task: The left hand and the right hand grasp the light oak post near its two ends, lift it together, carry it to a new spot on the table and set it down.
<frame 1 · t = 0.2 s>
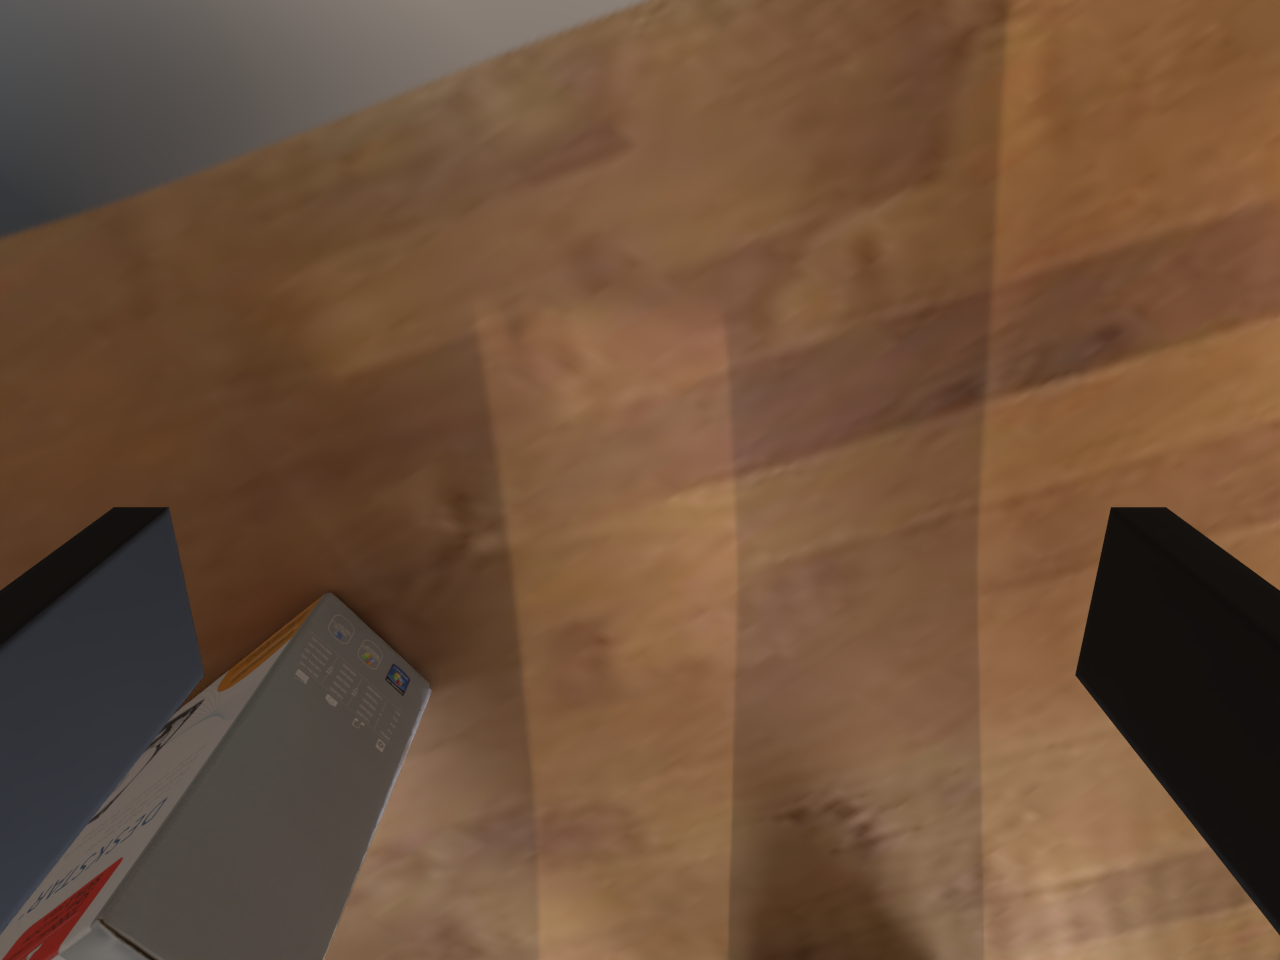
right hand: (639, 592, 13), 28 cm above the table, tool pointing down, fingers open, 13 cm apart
hard drive box: (281, 713, 47), on the table
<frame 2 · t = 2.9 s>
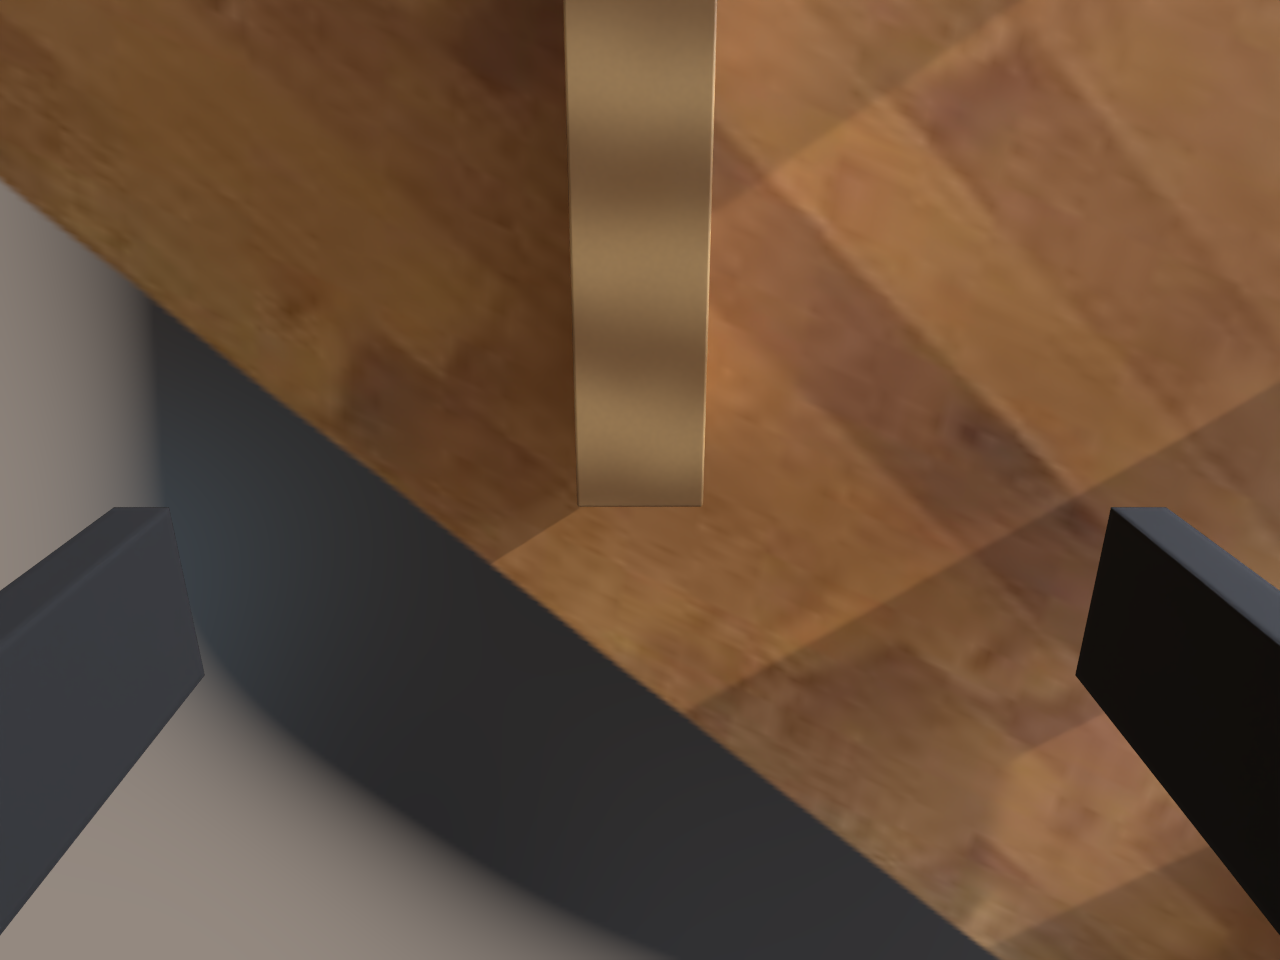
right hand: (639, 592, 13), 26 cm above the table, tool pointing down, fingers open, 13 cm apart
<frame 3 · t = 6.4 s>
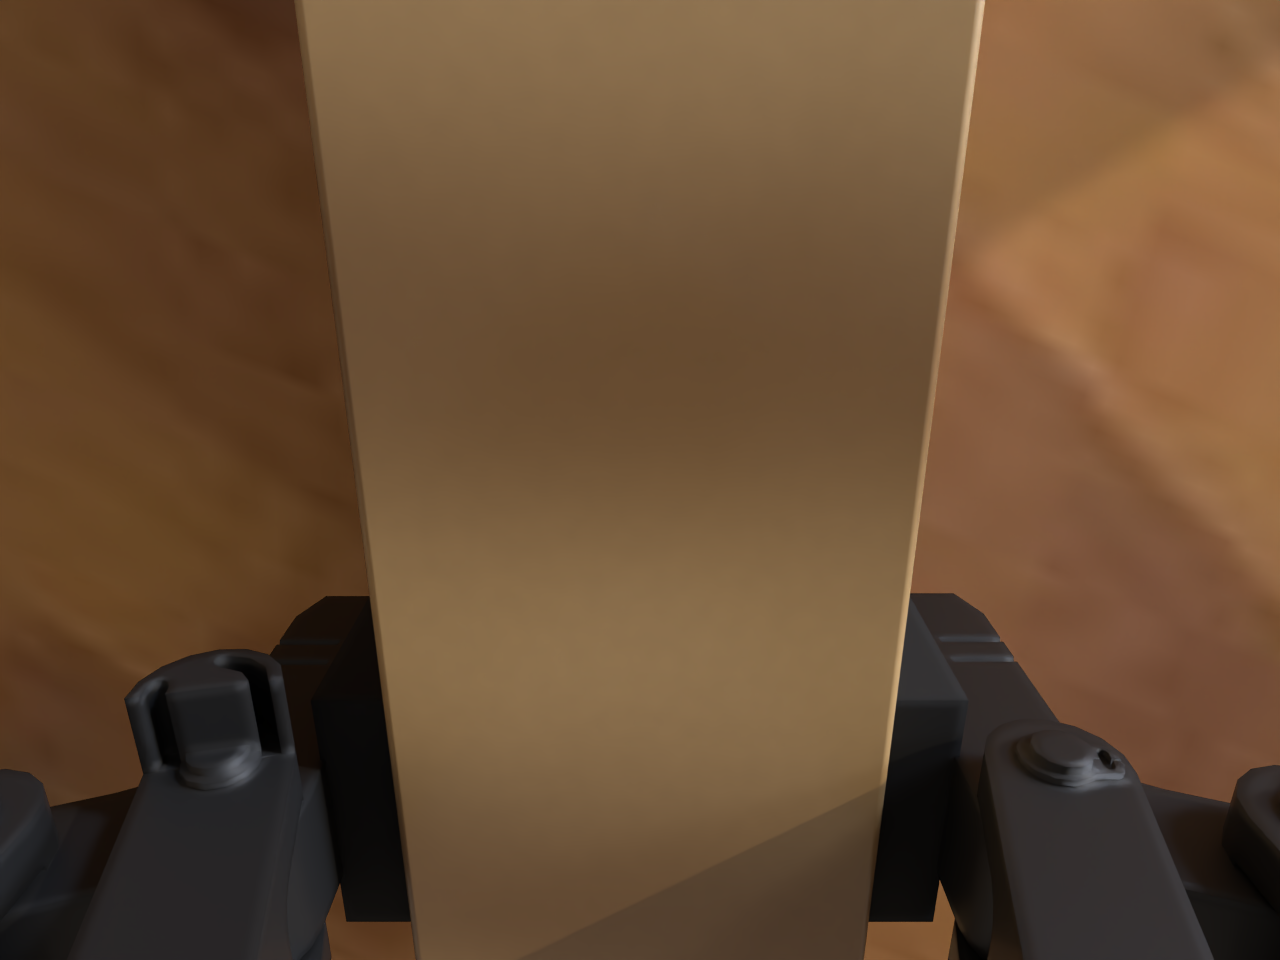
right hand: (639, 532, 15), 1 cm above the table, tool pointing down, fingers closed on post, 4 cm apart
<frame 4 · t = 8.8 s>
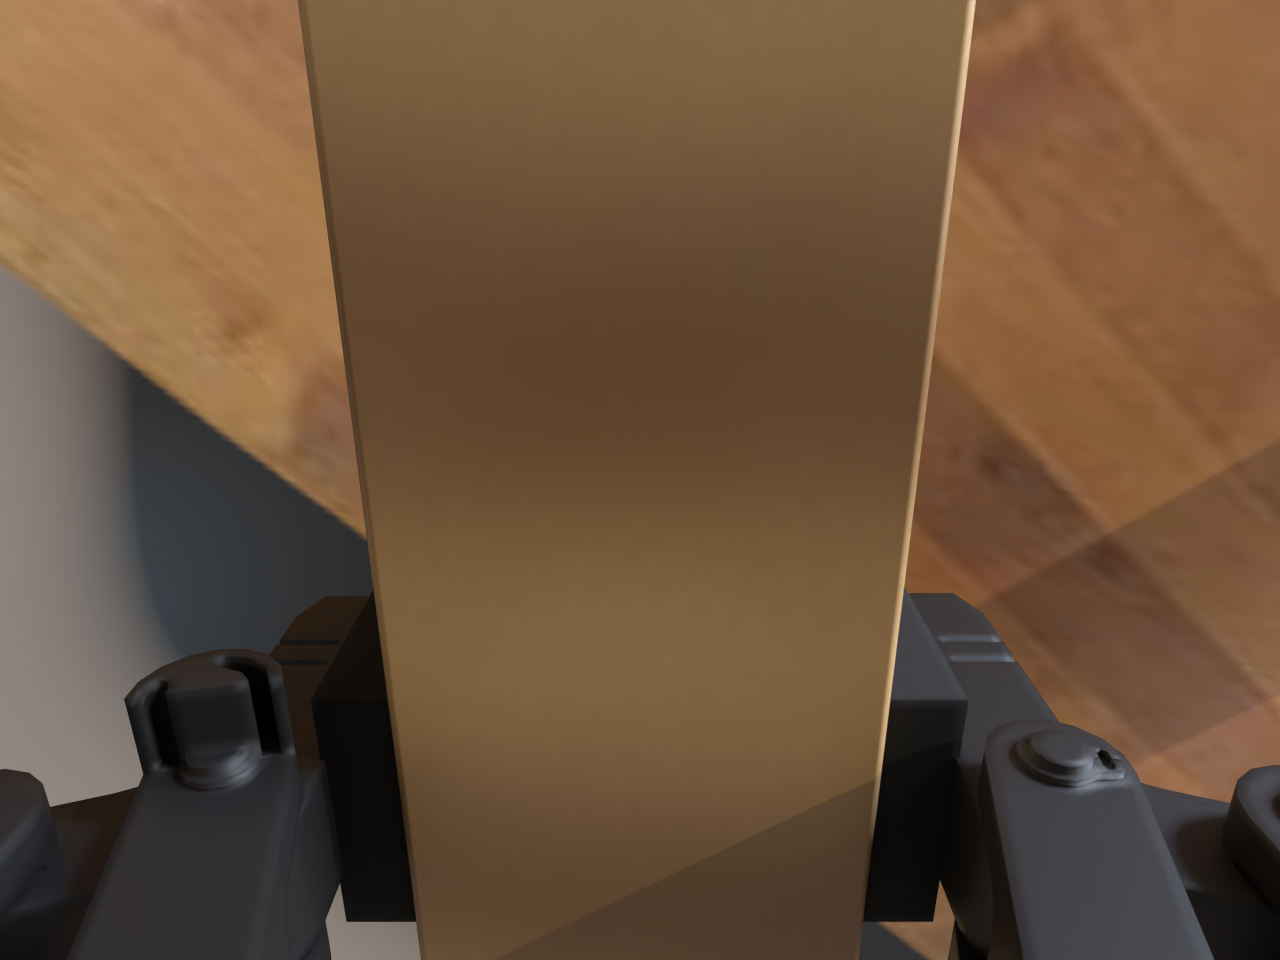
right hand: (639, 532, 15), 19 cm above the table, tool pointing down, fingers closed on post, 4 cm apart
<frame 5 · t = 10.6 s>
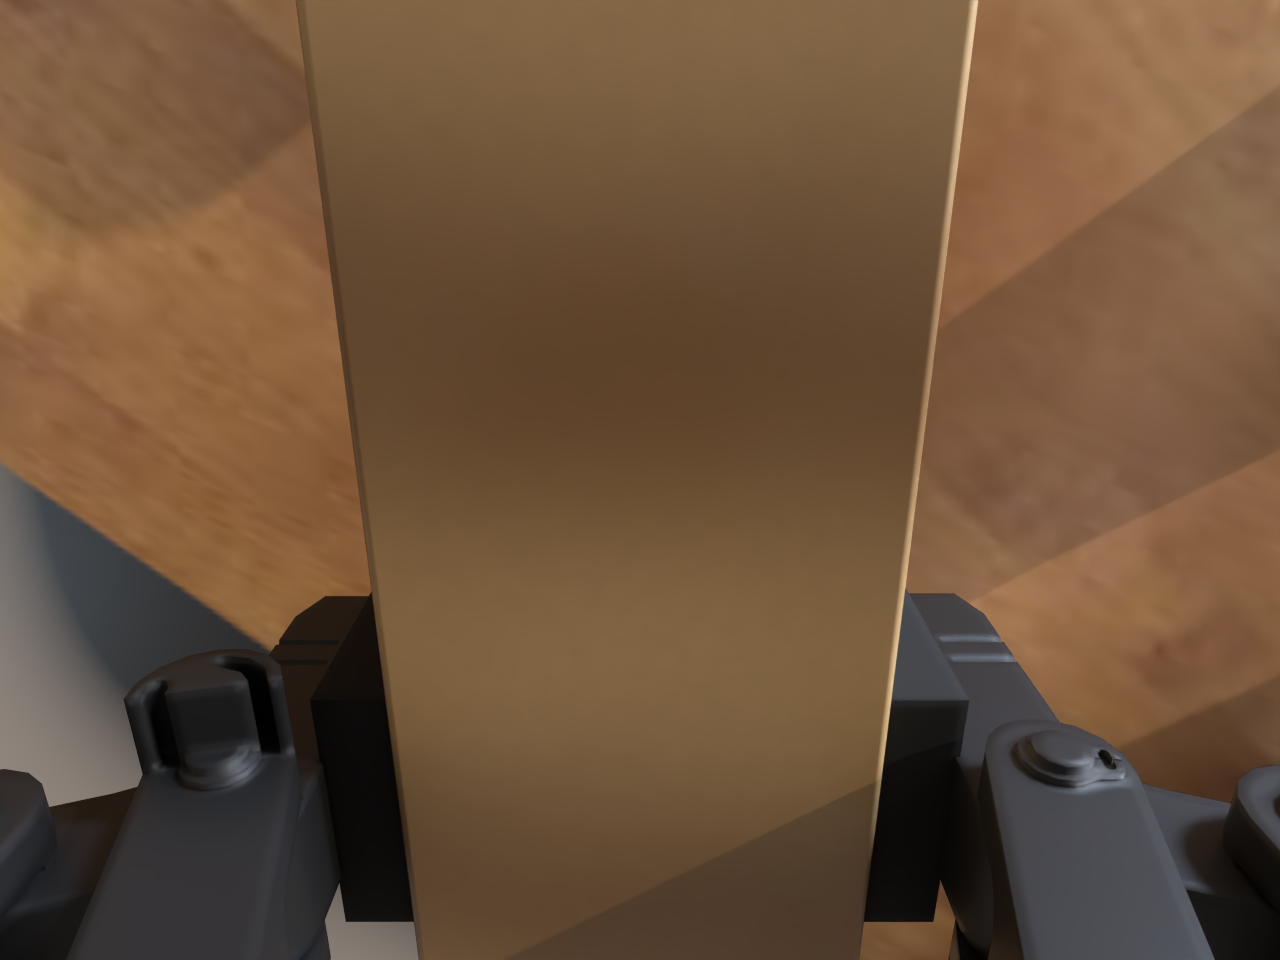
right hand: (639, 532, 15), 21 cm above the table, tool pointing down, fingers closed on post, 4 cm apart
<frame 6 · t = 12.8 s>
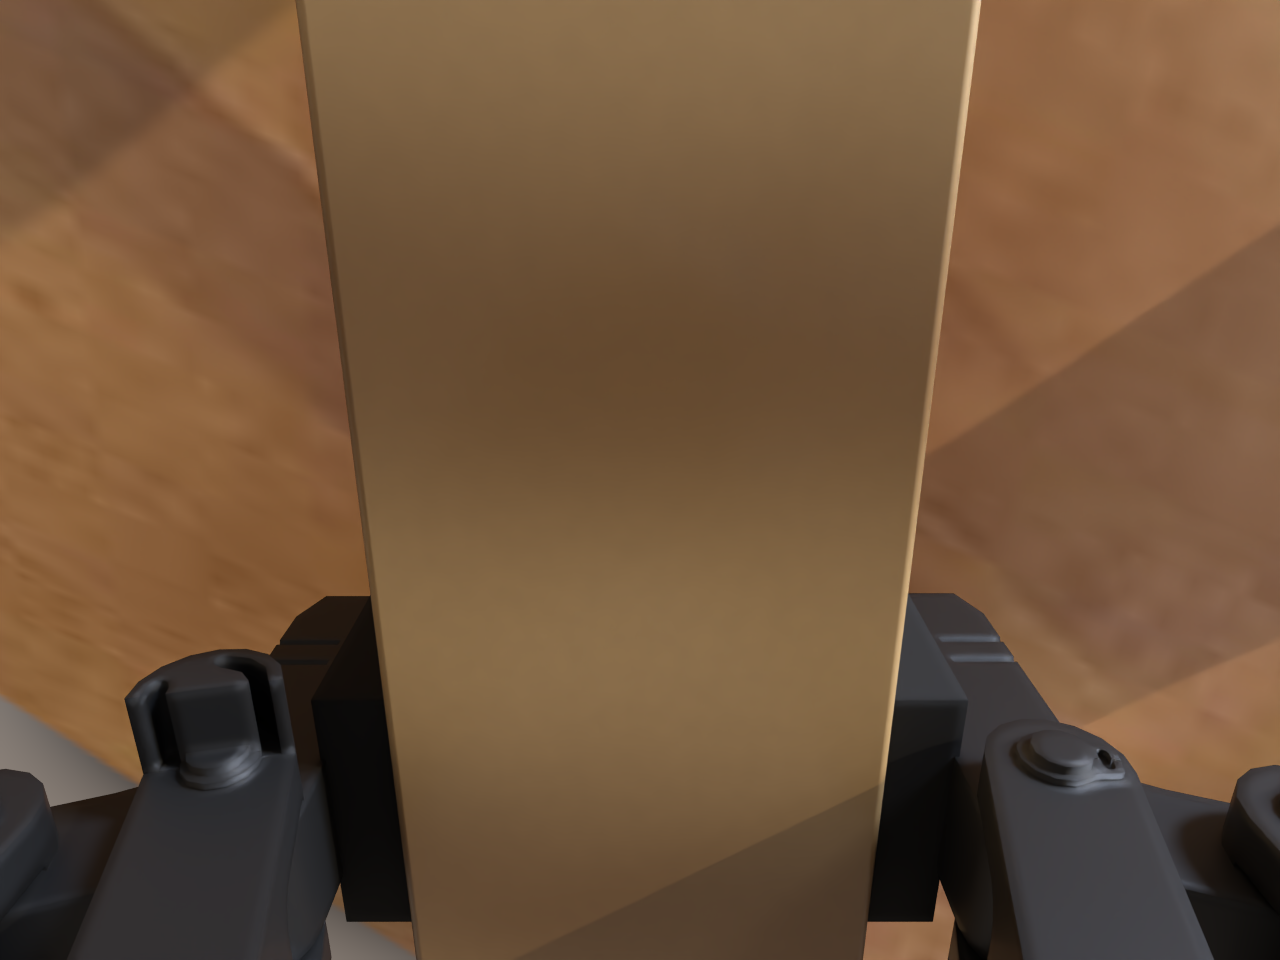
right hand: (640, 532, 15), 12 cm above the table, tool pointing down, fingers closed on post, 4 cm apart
when the right hand's fingers open (2 cm above the table, at t = 14.8 s): post drops 1 cm, on the table.
when the left hand's fingers open (4 cm above the table, at t = 15.0 s): post stays where it is, on the table.
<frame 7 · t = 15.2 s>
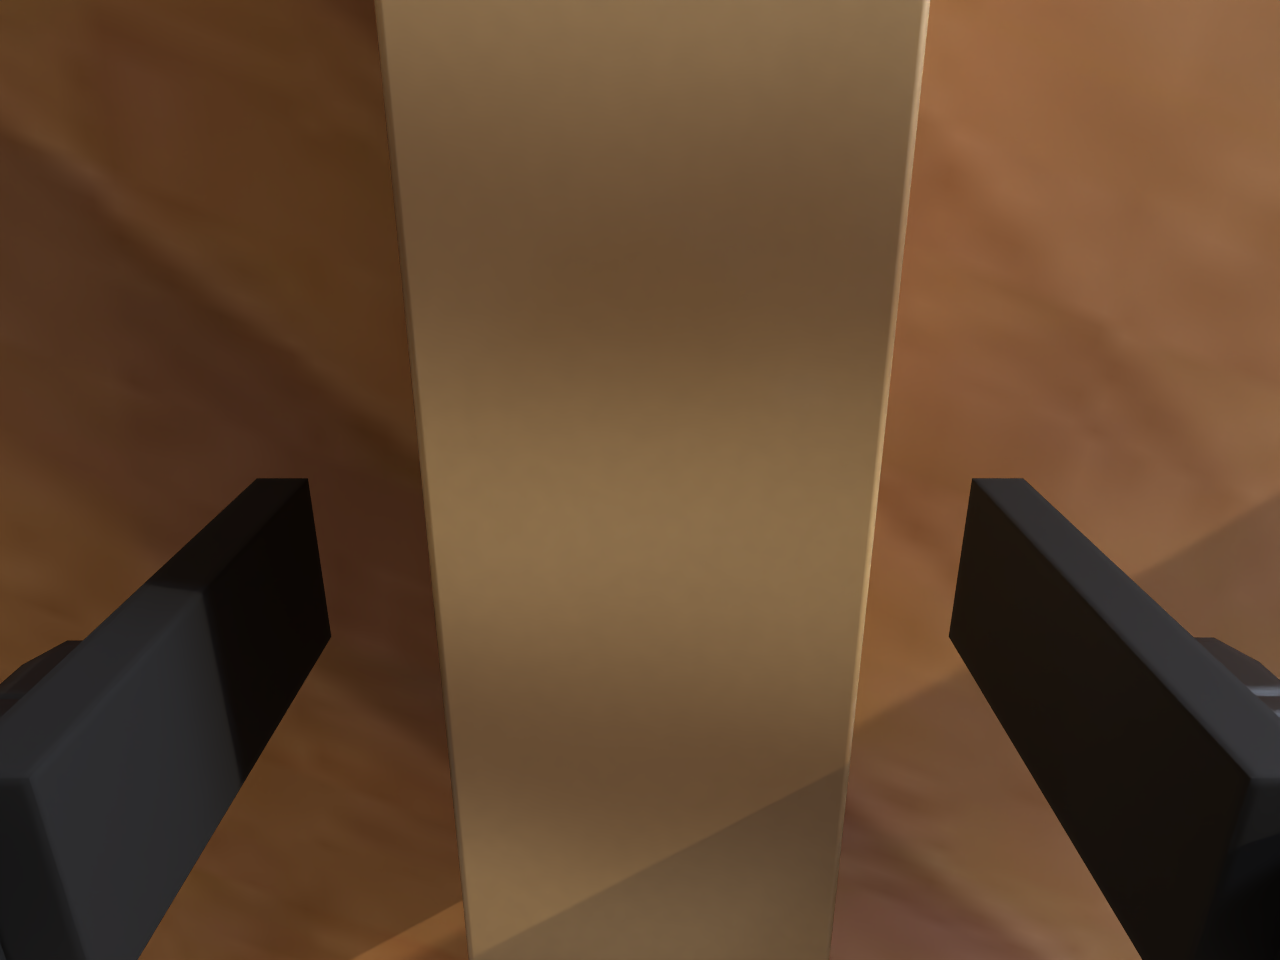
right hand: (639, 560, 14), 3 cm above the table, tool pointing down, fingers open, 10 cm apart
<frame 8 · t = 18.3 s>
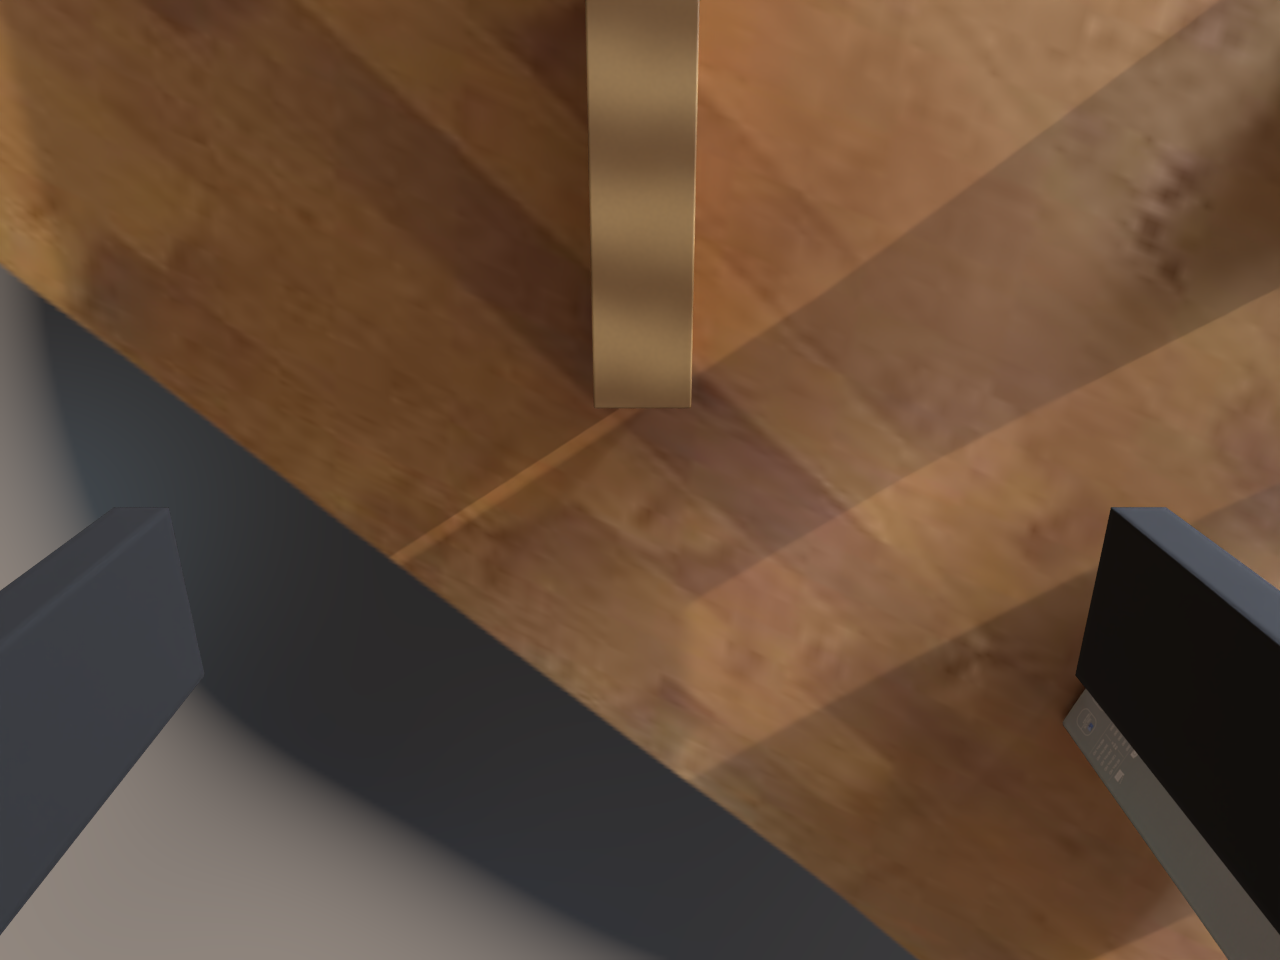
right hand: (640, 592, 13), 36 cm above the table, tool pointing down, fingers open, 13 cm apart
hard drive box: (1192, 712, 57), on the table
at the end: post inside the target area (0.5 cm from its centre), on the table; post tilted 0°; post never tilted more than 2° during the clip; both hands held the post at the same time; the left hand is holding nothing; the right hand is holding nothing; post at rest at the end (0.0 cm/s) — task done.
